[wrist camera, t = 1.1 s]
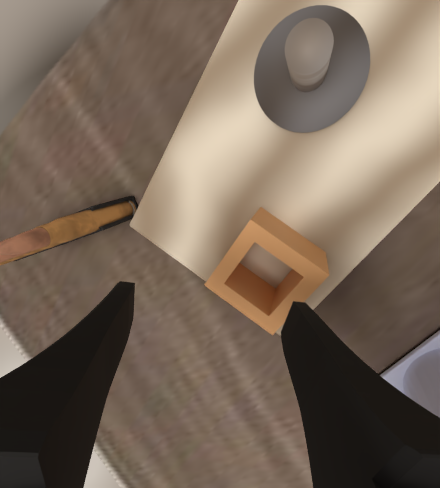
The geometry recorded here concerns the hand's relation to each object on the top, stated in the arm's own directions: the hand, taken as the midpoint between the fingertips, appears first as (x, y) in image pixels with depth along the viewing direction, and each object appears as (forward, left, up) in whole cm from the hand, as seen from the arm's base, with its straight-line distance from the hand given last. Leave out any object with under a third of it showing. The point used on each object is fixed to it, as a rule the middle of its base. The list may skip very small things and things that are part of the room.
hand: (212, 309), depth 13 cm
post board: (+1, -6, -11) cm, 13 cm away
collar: (-2, 0, -10) cm, 10 cm away
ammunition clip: (+13, +8, -11) cm, 19 cm away
